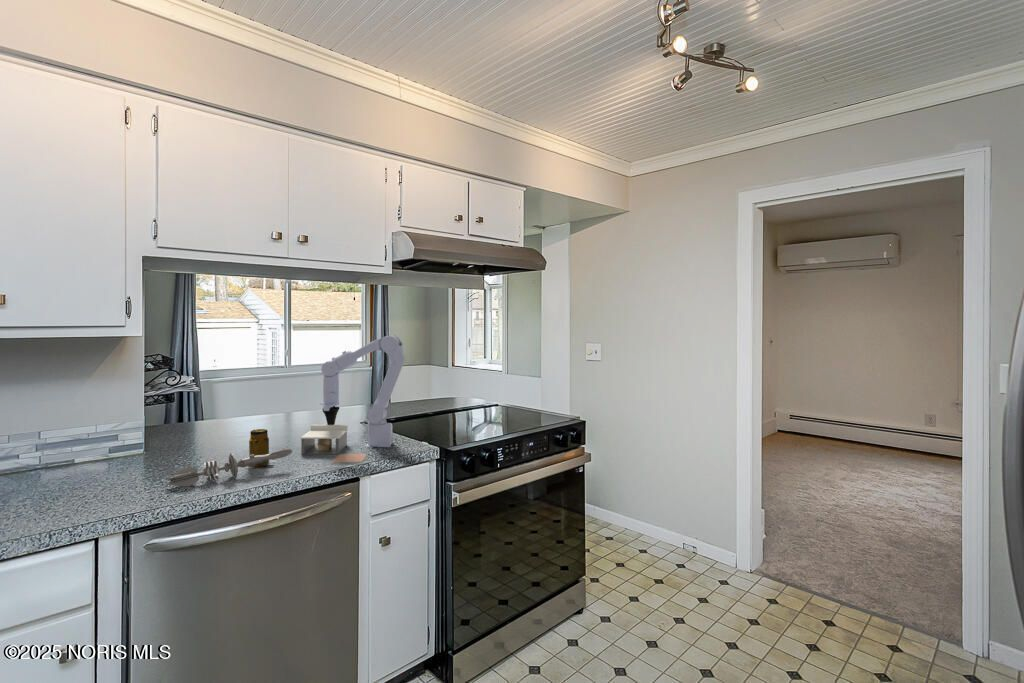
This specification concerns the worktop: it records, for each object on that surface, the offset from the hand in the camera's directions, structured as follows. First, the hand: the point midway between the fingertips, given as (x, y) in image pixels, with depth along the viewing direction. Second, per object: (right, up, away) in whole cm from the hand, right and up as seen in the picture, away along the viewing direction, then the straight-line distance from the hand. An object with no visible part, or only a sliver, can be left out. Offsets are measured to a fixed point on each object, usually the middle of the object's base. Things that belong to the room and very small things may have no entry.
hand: (331, 425), depth 202 cm
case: (+1, -8, -8) cm, 12 cm away
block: (+1, -8, -8) cm, 11 cm away
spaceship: (-16, -10, -41) cm, 45 cm away
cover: (+1, -2, -9) cm, 9 cm away
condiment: (-14, -9, -28) cm, 32 cm away
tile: (+14, -9, -19) cm, 25 cm away
